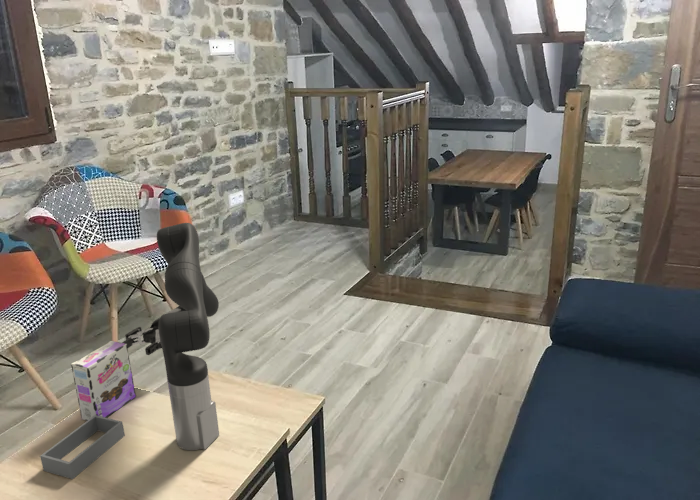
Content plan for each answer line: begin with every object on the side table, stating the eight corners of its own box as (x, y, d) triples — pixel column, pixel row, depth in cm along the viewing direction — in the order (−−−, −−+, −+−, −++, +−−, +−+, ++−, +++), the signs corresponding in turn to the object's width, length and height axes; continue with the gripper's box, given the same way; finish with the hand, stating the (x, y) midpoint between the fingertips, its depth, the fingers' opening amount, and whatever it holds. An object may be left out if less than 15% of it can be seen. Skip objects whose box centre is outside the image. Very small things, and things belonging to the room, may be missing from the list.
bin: (124, 435, 146) (122, 421, 145) (72, 479, 131) (69, 464, 130) (97, 428, 149) (94, 415, 148) (43, 470, 135) (40, 455, 133)
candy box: (98, 425, 151) (86, 367, 145) (81, 420, 153) (69, 363, 148) (137, 396, 163) (127, 342, 157) (120, 392, 165) (111, 339, 160)
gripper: (149, 310, 180) (111, 334, 166) (188, 316, 175) (153, 341, 161) (153, 333, 183) (115, 358, 169) (191, 339, 178) (157, 365, 164)
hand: (134, 349), depth 165 cm, fingers open, 8 cm apart
